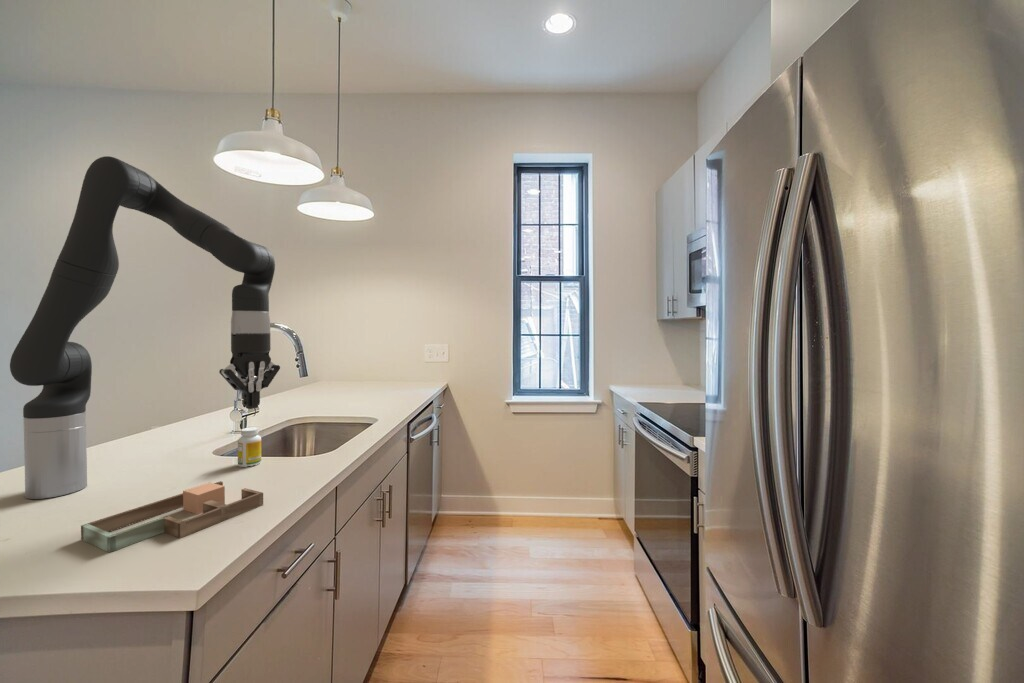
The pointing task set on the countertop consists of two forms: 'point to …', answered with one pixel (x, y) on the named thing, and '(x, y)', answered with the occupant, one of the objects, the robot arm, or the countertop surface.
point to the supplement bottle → (249, 447)
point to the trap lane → (163, 520)
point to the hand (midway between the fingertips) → (251, 408)
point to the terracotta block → (202, 496)
